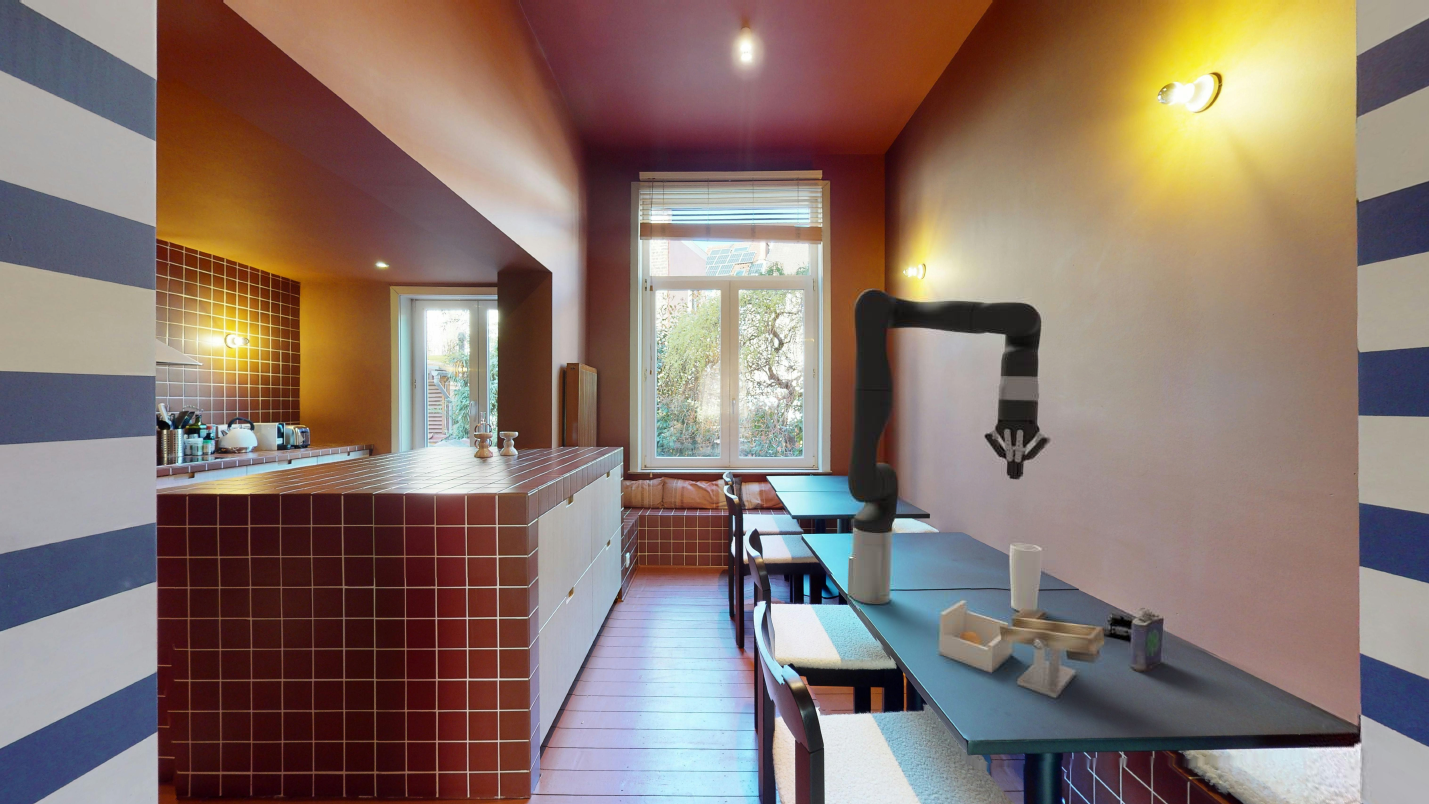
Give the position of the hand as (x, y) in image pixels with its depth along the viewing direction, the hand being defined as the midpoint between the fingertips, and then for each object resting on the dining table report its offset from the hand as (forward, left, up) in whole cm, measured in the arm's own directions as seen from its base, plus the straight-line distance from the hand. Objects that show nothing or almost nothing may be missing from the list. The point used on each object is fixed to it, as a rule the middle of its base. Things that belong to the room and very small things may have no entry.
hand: (1014, 478), depth 121 cm
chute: (+13, -14, -28) cm, 34 cm away
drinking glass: (-2, +16, -33) cm, 37 cm away
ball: (-2, -17, -31) cm, 35 cm away
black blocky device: (+17, +17, -34) cm, 41 cm away
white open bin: (0, -17, -33) cm, 37 cm away
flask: (+23, +4, -33) cm, 41 cm away
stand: (+12, -17, -33) cm, 39 cm away
